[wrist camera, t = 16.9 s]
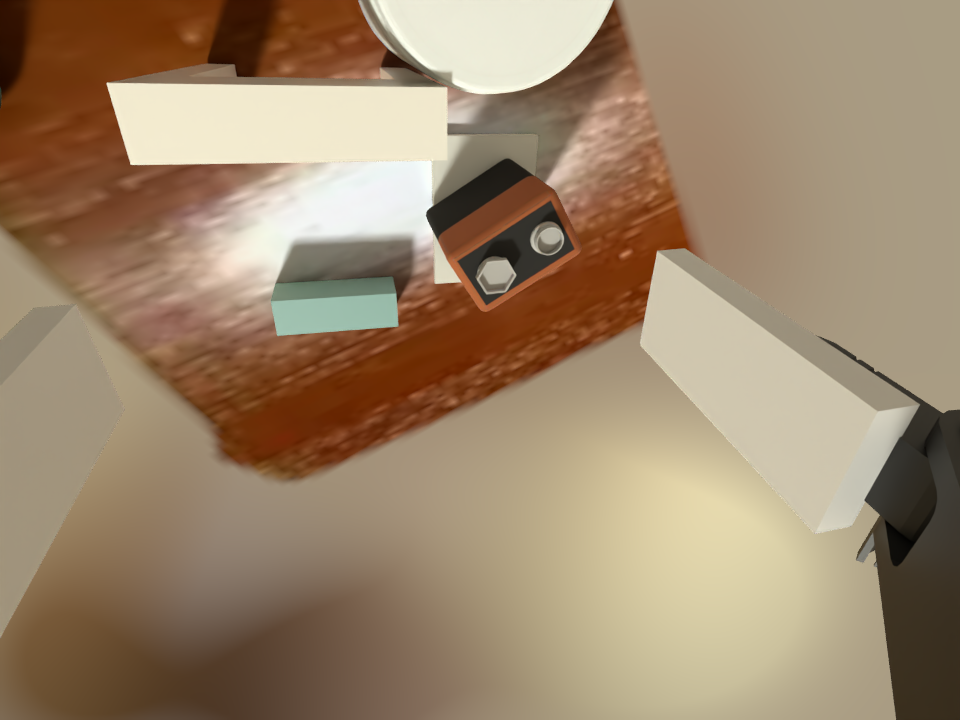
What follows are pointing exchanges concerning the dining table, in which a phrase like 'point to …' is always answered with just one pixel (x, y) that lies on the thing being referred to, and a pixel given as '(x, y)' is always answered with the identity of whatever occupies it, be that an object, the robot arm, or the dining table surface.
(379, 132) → the white u-shaped bracket
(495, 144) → the mat
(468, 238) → the battery
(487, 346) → the dining table surface
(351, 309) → the block
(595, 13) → the supplement tub
